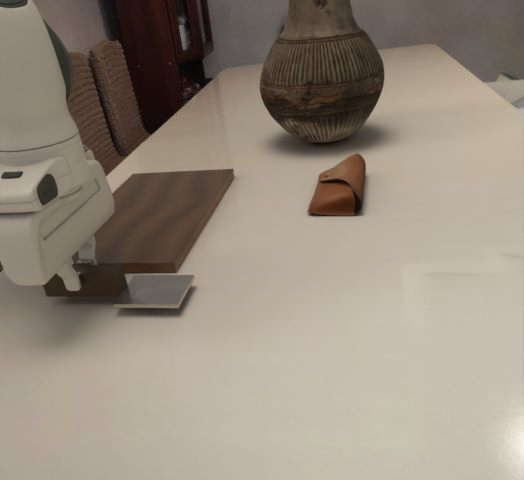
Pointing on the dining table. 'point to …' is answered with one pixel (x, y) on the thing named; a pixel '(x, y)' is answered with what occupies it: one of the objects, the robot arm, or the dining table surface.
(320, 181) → the sunglasses case
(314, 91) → the vase
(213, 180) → the board
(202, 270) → the dining table surface
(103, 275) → the spatula
